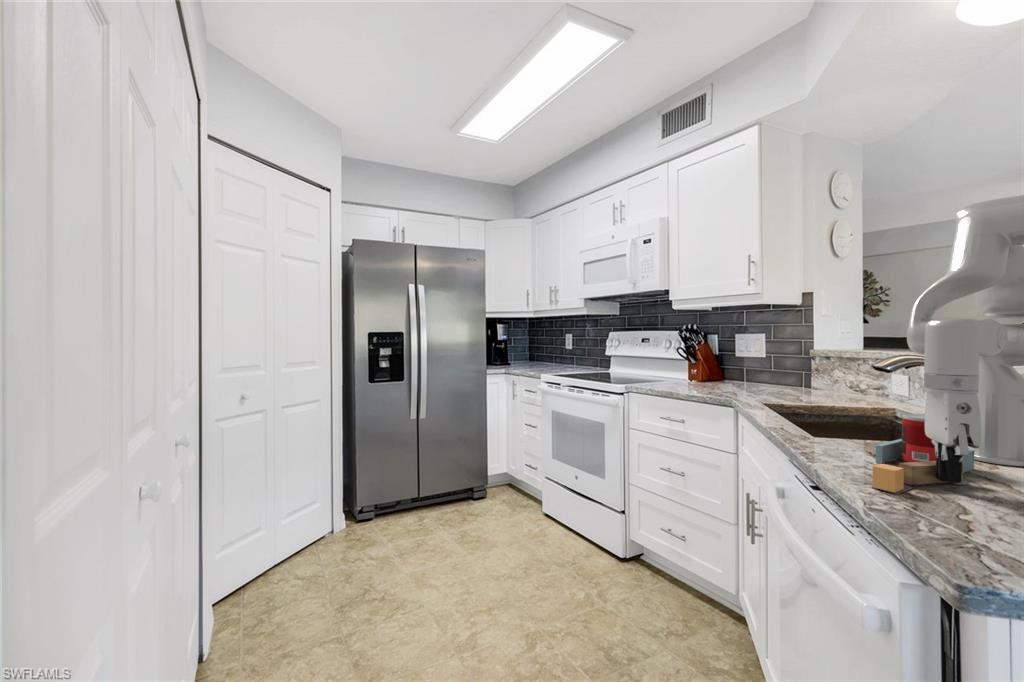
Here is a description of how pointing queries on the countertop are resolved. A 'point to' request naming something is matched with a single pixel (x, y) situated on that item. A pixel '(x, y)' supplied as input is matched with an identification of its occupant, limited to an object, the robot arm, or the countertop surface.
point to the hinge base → (960, 483)
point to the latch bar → (921, 472)
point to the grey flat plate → (905, 488)
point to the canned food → (916, 440)
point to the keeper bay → (894, 451)
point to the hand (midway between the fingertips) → (948, 480)
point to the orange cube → (888, 477)
